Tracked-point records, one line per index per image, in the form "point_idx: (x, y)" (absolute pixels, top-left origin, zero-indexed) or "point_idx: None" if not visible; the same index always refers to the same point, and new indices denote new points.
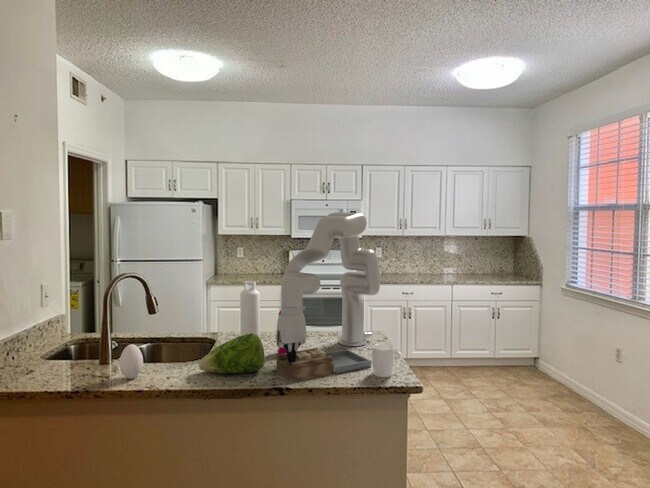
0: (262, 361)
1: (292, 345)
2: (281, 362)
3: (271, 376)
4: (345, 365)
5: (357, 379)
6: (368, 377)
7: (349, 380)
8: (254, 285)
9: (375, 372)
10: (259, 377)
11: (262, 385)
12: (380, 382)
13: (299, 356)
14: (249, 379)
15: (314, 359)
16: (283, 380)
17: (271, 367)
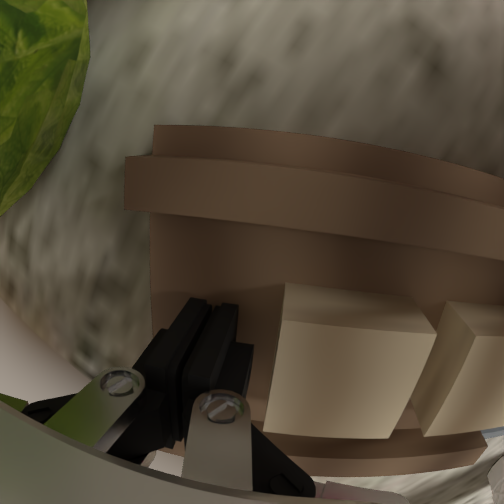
0: (2, 212)
1: (193, 447)
2: (151, 246)
3: (104, 242)
4: (491, 436)
5: (431, 476)
6: (469, 471)
7: (405, 475)
8: None
9: (495, 475)
10: (48, 215)
11: (42, 319)
12: (445, 500)
13: (266, 422)
14: (11, 212)
15: (350, 470)
16: (142, 339)
17: (182, 71)
